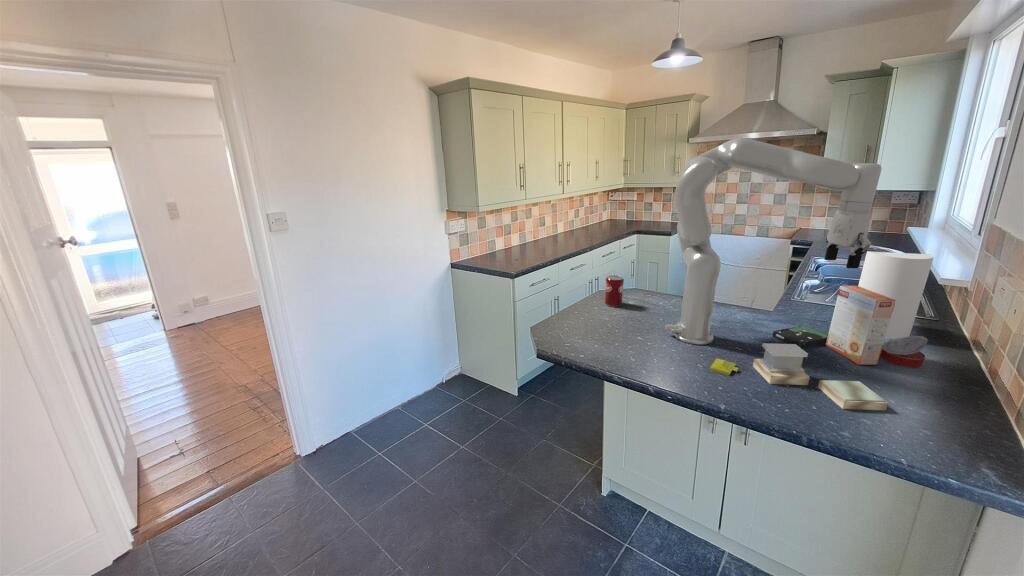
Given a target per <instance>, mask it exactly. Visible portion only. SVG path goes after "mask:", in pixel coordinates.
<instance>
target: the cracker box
mask: <svg viewBox="0 0 1024 576" xmlns="http://www.w3.org/2000/svg"><path fill="white" fill-rule="evenodd" d="M895 301H896V300H894V299H892V298H889V297H886V296H883V295H881V294H878V293H875V292H873V291H870V290H867V289H865V288H862V287H859V286H858V285H840V286H839V289H838V293H837V297H836V301H835V305H834V306H835V307H834V309H833V314H832V317H831V322H830V325H829V330H828V333H827V334H828V337H827V341H826V344H825V346H826V347H828V348H830V349H832V350H833V351H835V352H836V353H838V354H840V355H842V356H843V357H845V358H847V359H848V360H850V361H852V362H853V363H855V364H856V365H858V366H859V365H860V366H877V365H878V363H879V359H880V353H881V350H882V346H883V345H884V343H885V339H886V338H885V336H886V332H887V329H888V326H889V322H890V319H891V315H892V312H893V308H894V305H895Z"/></svg>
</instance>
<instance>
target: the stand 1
mask: <svg viewBox="0 0 1024 576" xmlns="http://www.w3.org/2000/svg"><path fill="white" fill-rule="evenodd" d="M760 359H761V358H753V363H752V367H753V368H754V370H756V372H758V373H759V375H760V376H762V378H763V379H764V380H765V381H767V383H769V384H768V385H789V386H791V385H792V386H793V385H794V386H796V385H797V386H799V385H800V386H808V385H809V382H810V376H809V375H808V374H807V373H806V372H805V371H804V373H778V372H769V371H768V370H767V369H766V368H765V367H764V366H763V365H762V364H761V363H760V362H759V360H760Z"/></svg>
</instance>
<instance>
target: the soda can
mask: <svg viewBox="0 0 1024 576" xmlns="http://www.w3.org/2000/svg"><path fill="white" fill-rule="evenodd" d="M624 280H625V279H624V277H623V276H621V275H612V274H611V275H608V276H606V278H605V289H604V304H605V305H606V306H608V307H611V308H617V307H618V308H619V307H621V306H622V305H623V295H624Z"/></svg>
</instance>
